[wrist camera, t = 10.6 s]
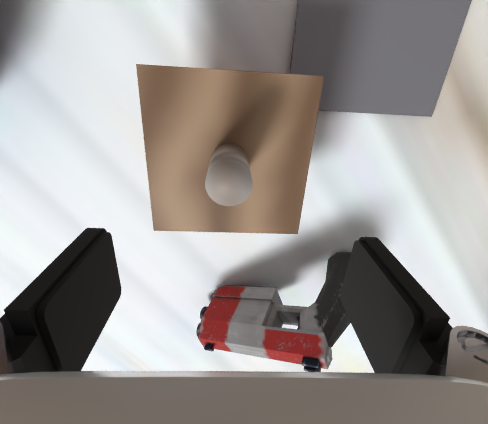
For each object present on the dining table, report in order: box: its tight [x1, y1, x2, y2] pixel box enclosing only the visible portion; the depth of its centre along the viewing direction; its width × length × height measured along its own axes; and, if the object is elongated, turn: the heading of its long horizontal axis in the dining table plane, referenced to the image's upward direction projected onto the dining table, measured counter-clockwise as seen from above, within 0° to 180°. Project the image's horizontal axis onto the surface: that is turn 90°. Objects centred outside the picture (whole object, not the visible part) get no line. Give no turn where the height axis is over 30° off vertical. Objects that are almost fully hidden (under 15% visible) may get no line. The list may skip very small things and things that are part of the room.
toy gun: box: [197, 252, 352, 372], centre depth 36 cm, size 5×22×15 cm, turn 110°
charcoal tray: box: [290, 0, 471, 117], centre depth 26 cm, size 16×16×1 cm
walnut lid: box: [136, 64, 324, 234], centre depth 21 cm, size 14×14×6 cm
